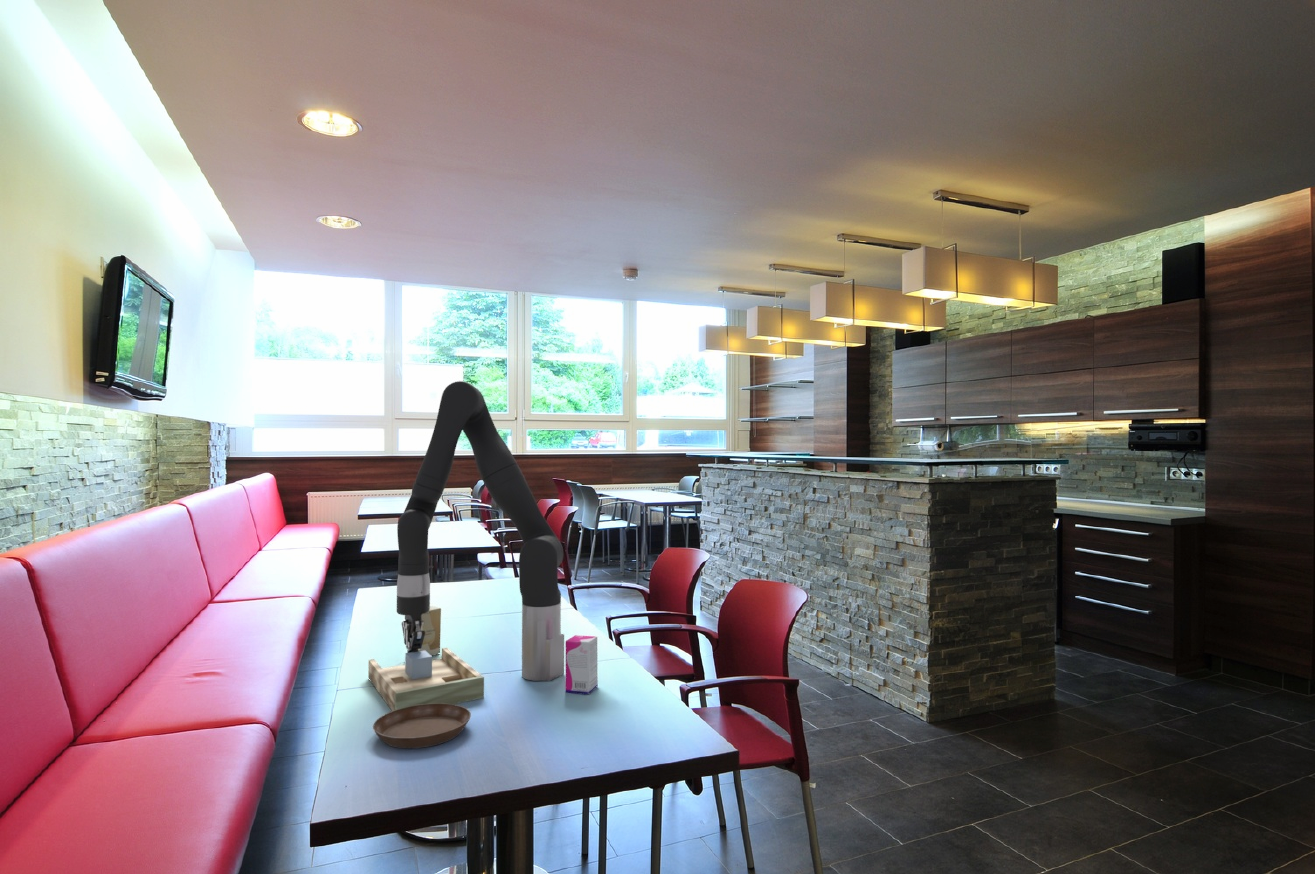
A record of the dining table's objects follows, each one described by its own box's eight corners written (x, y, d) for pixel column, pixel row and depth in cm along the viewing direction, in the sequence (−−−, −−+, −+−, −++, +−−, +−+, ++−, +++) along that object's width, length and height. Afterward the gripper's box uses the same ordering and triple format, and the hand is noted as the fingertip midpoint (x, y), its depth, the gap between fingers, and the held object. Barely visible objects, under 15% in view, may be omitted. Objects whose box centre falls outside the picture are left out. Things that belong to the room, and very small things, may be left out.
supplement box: (598, 686, 159) (598, 635, 159) (588, 695, 153) (588, 642, 153) (574, 684, 160) (574, 634, 161) (564, 692, 155) (564, 640, 155)
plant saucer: (374, 724, 138) (374, 708, 138) (466, 712, 144) (466, 697, 144) (371, 761, 121) (371, 743, 121) (475, 746, 128) (475, 729, 128)
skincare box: (420, 659, 179) (420, 611, 180) (410, 656, 182) (410, 609, 182) (441, 653, 184) (441, 607, 185) (431, 650, 187) (432, 605, 187)
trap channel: (483, 697, 151) (483, 677, 151) (395, 715, 141) (396, 693, 141) (446, 665, 174) (446, 647, 174) (368, 679, 164) (368, 659, 164)
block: (431, 676, 160) (432, 656, 160) (411, 679, 157) (412, 659, 157) (424, 669, 165) (425, 650, 165) (405, 672, 162) (405, 653, 162)
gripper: (437, 595, 163) (436, 670, 162) (422, 586, 174) (421, 655, 173) (403, 599, 159) (402, 675, 158) (390, 589, 170) (390, 660, 169)
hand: (412, 665), depth 166 cm, fingers closed
